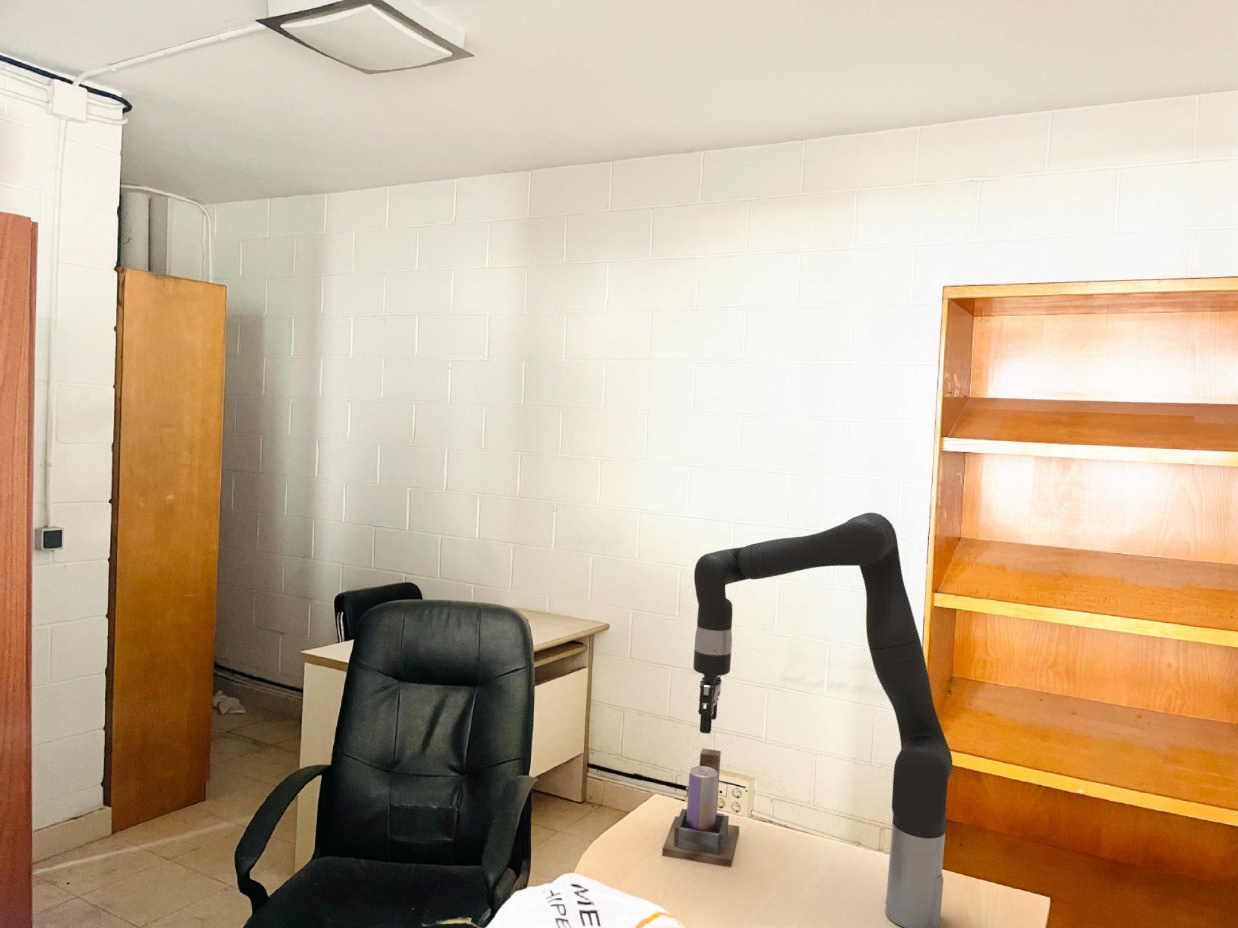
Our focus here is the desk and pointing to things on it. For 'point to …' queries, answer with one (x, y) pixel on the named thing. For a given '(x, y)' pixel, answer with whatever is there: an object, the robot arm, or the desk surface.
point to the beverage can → (702, 799)
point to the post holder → (703, 843)
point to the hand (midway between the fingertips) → (708, 725)
